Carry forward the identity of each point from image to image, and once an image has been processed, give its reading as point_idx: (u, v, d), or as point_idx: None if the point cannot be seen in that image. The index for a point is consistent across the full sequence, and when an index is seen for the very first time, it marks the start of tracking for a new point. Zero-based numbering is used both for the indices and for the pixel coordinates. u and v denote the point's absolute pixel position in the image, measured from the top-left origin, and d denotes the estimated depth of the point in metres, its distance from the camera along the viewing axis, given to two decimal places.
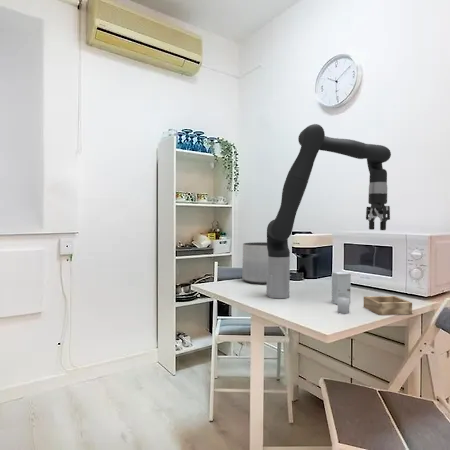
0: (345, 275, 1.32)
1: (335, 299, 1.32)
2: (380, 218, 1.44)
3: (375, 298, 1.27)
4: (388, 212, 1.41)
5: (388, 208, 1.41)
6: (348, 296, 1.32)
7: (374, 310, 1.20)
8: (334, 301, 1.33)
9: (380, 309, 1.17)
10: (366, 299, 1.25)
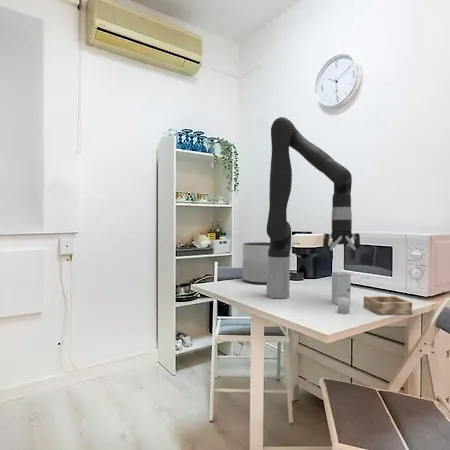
0: (345, 275, 1.32)
1: (335, 299, 1.32)
2: (352, 247, 1.33)
3: (375, 298, 1.27)
4: None
5: None
6: (348, 296, 1.32)
7: (374, 310, 1.20)
8: (334, 301, 1.33)
9: (380, 309, 1.17)
10: (366, 299, 1.25)
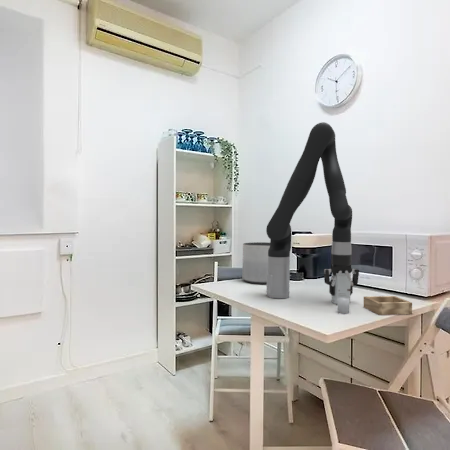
0: (345, 275, 1.32)
1: (335, 299, 1.32)
2: None
3: (375, 298, 1.27)
4: None
5: None
6: (348, 296, 1.32)
7: (374, 310, 1.20)
8: (334, 301, 1.33)
9: (380, 309, 1.17)
10: (366, 299, 1.25)
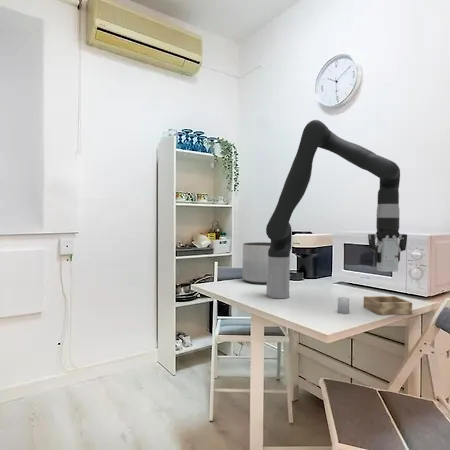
0: (392, 240, 1.21)
1: (381, 266, 1.21)
2: (398, 248, 1.22)
3: (375, 298, 1.27)
4: None
5: None
6: (396, 263, 1.21)
7: (374, 310, 1.20)
8: (380, 269, 1.22)
9: (380, 309, 1.17)
10: (366, 299, 1.25)
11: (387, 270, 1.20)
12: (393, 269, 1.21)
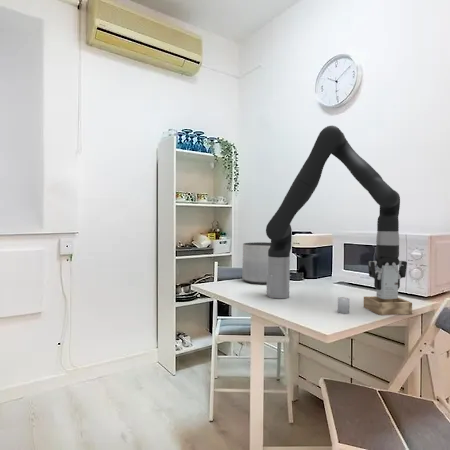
0: (392, 267, 1.21)
1: (381, 294, 1.21)
2: (398, 275, 1.22)
3: (375, 298, 1.27)
4: None
5: None
6: (395, 290, 1.21)
7: (374, 310, 1.20)
8: (380, 296, 1.22)
9: (380, 309, 1.17)
10: (366, 299, 1.25)
11: (387, 297, 1.20)
12: (392, 296, 1.21)
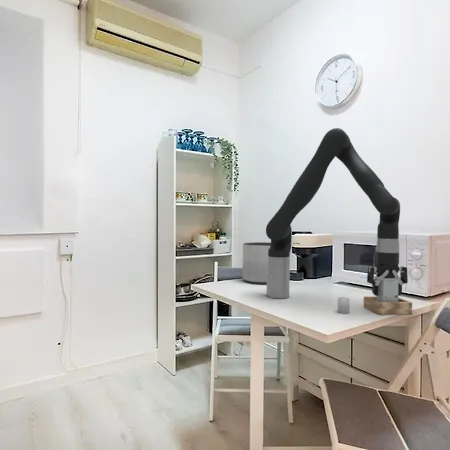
0: (392, 280, 1.21)
1: None
2: (399, 282, 1.22)
3: (375, 298, 1.27)
4: None
5: None
6: None
7: (374, 310, 1.20)
8: None
9: (380, 309, 1.17)
10: (366, 299, 1.25)
11: None
12: None
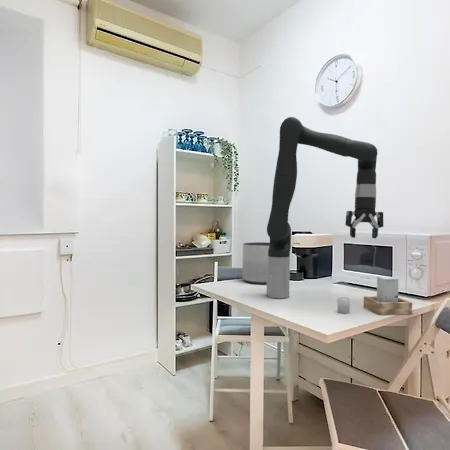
0: (392, 280, 1.21)
1: None
2: (376, 225, 1.31)
3: (375, 298, 1.27)
4: None
5: None
6: None
7: (374, 310, 1.20)
8: None
9: (380, 309, 1.17)
10: (366, 299, 1.25)
11: None
12: None
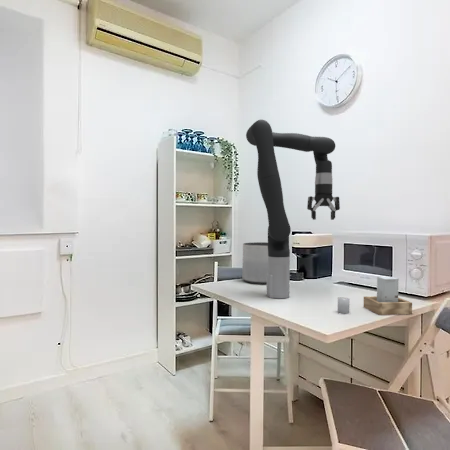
0: (392, 280, 1.21)
1: None
2: (333, 208, 1.51)
3: (375, 298, 1.27)
4: None
5: None
6: None
7: (374, 310, 1.20)
8: None
9: (380, 309, 1.17)
10: (366, 299, 1.25)
11: None
12: None
